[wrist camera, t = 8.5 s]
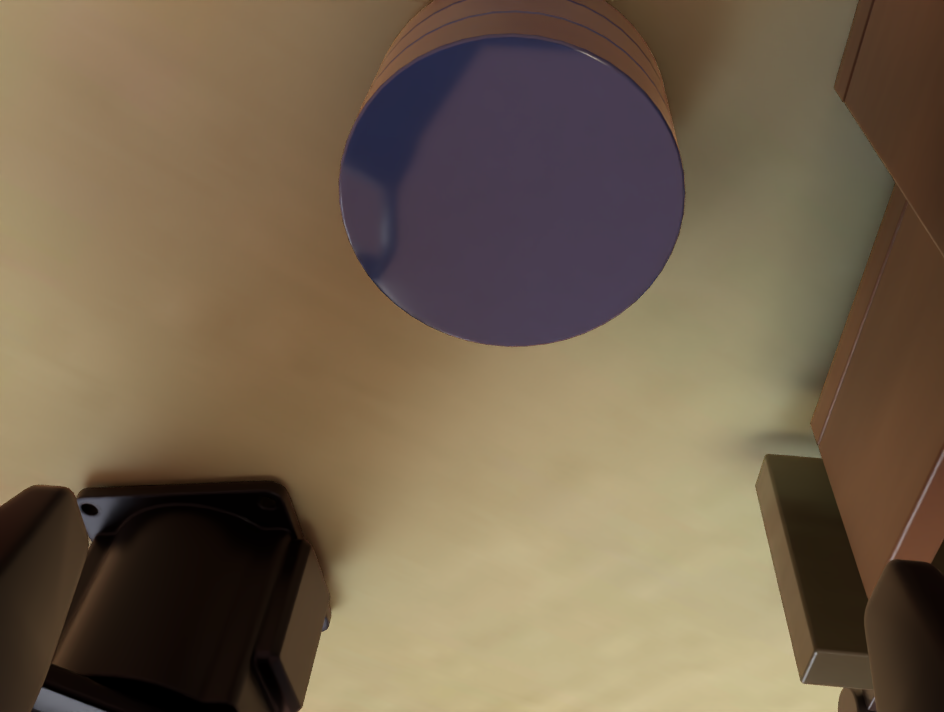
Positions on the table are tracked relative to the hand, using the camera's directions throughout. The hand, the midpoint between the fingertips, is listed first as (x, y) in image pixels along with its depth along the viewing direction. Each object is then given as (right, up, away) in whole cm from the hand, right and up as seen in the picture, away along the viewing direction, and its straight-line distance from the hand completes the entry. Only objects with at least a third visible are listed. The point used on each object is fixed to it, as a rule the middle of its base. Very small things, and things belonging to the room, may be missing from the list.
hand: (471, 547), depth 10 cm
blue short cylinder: (+1, +7, +9) cm, 11 cm away
